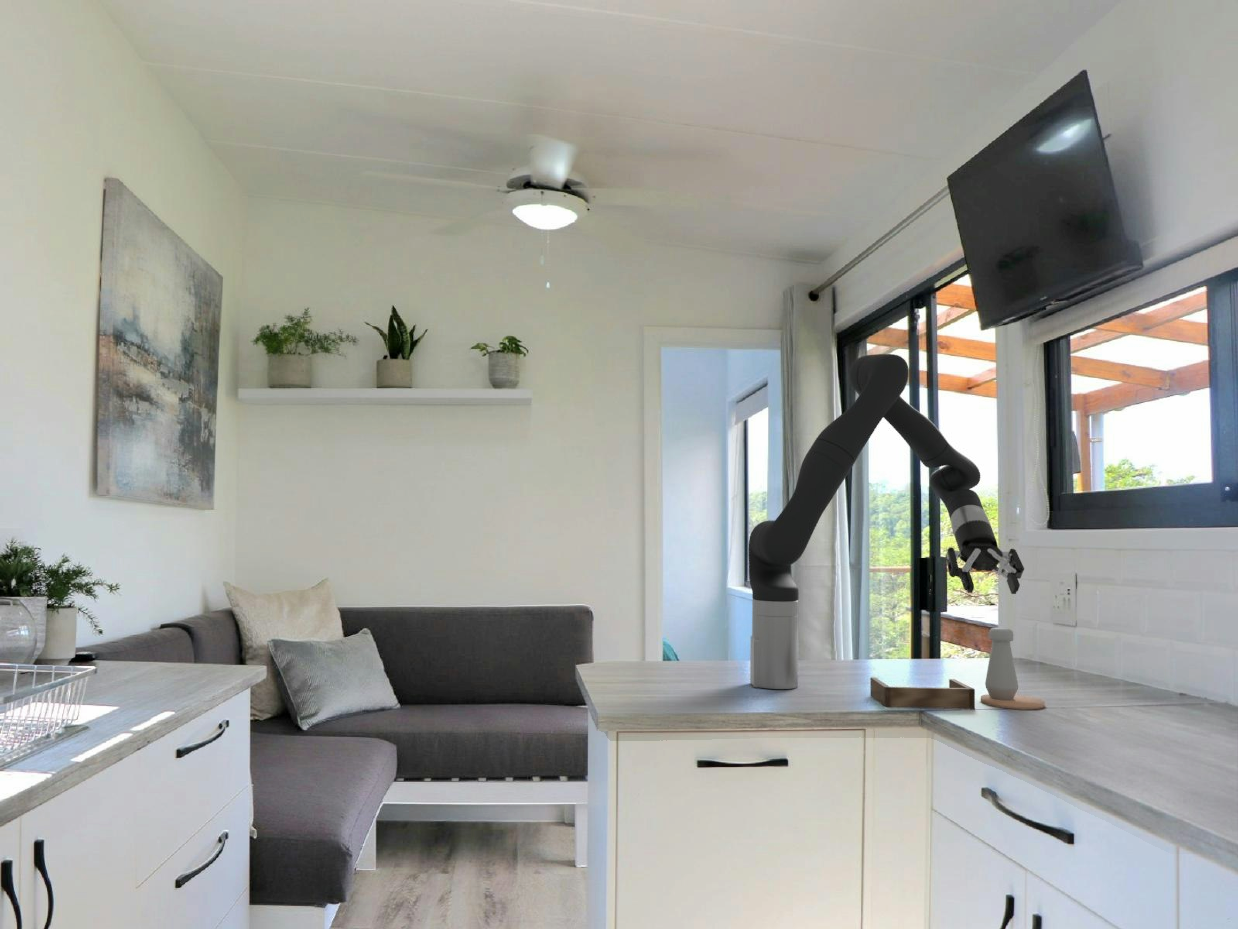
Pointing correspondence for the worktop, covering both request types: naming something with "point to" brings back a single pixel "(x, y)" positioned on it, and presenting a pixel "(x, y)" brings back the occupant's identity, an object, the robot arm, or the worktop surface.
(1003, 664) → the salt shaker
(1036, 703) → the trivet
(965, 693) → the tray
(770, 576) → the robot arm
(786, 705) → the worktop surface
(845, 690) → the worktop surface
